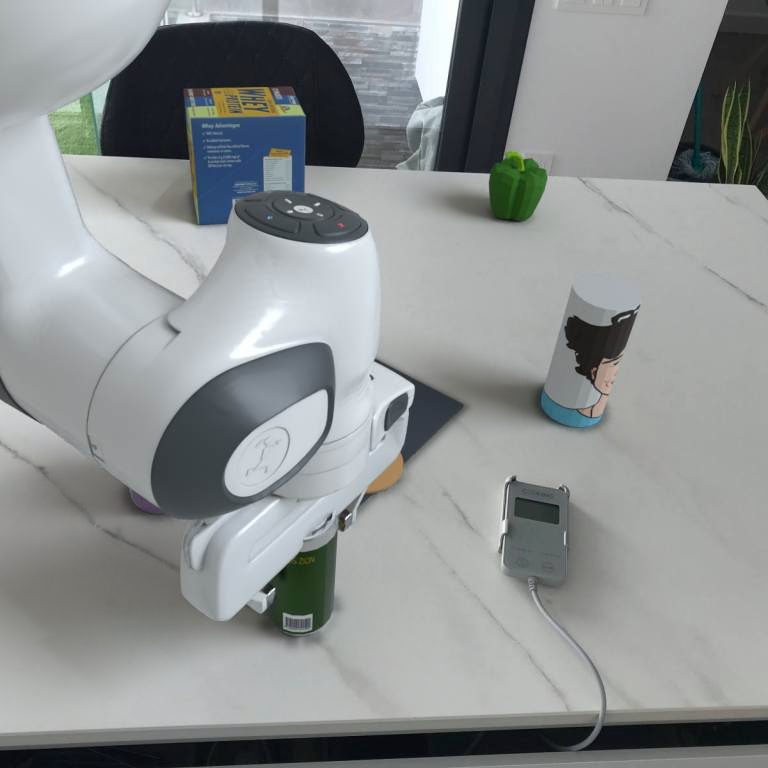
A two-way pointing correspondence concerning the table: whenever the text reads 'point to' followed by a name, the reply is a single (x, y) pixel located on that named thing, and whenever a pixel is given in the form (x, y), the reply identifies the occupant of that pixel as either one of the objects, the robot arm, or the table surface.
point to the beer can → (307, 584)
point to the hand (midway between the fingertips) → (302, 560)
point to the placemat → (416, 428)
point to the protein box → (242, 145)
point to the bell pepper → (516, 187)
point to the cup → (589, 347)
